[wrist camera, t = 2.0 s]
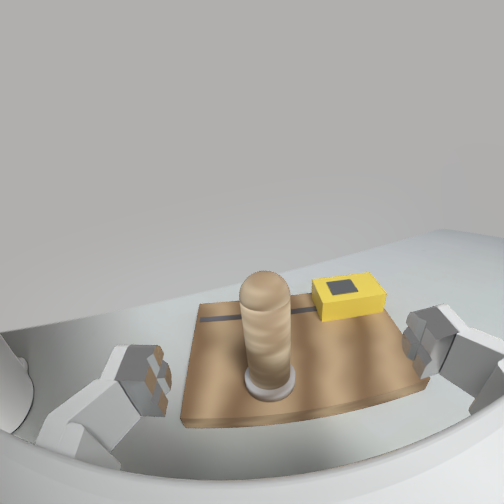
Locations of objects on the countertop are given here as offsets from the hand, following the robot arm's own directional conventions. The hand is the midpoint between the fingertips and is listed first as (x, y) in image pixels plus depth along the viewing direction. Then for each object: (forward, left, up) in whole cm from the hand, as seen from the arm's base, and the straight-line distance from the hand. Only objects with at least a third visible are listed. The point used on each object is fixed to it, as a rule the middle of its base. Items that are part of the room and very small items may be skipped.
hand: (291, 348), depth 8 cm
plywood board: (+4, +18, -19) cm, 27 cm away
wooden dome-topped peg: (0, +12, -17) cm, 21 cm away
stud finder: (+12, +24, -17) cm, 32 cm away
